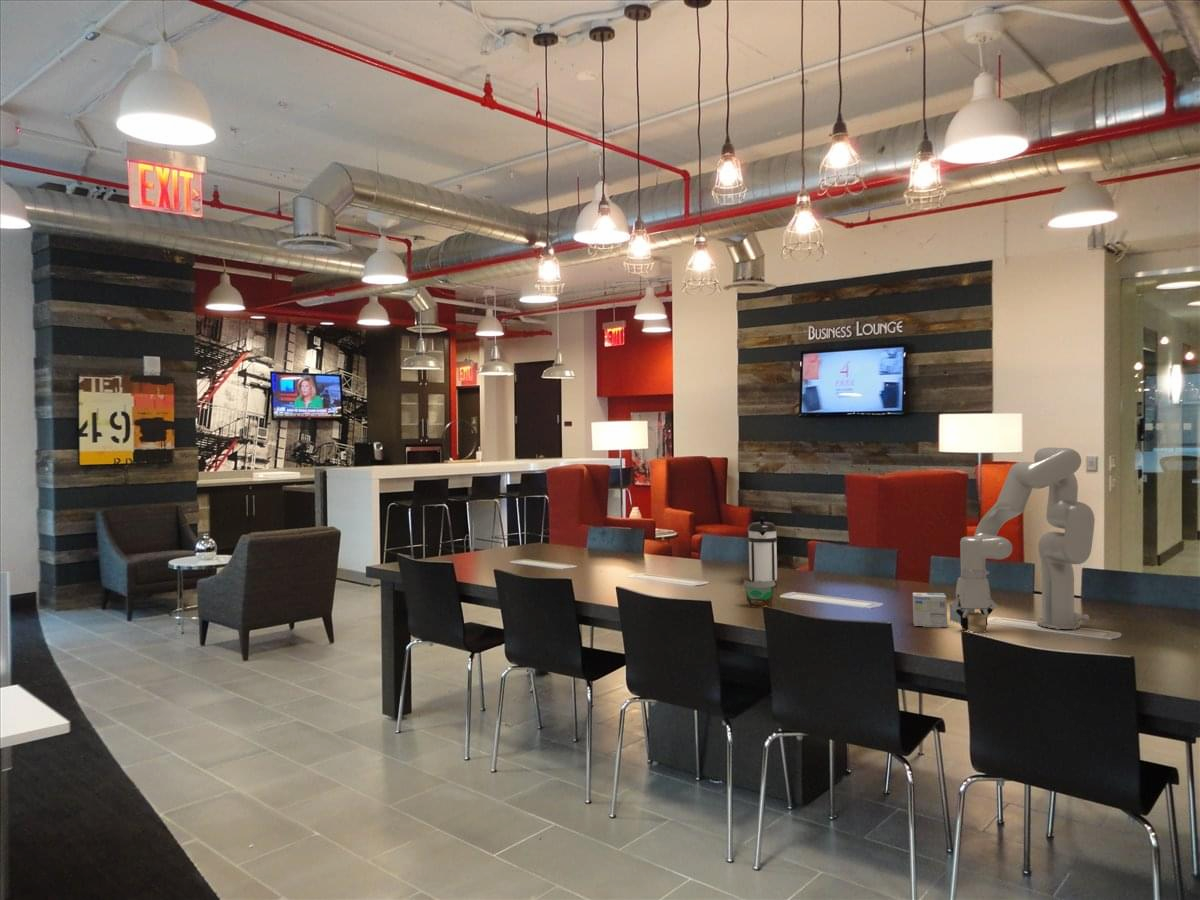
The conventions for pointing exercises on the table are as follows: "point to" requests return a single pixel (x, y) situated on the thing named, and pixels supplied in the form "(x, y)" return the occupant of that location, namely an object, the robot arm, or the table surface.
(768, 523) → the coffee press
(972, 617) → the oak cube
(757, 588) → the food container
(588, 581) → the table surface
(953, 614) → the slate block
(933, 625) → the light bulb box
